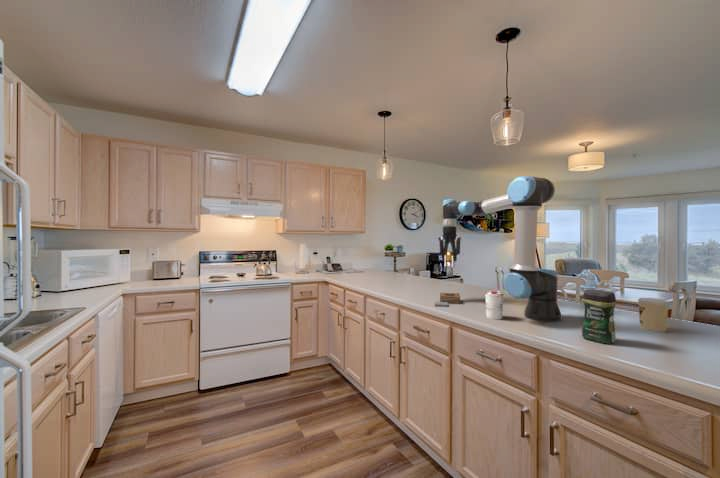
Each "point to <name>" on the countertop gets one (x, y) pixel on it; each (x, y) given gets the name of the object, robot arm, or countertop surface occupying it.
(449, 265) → the gold and silver cylinder
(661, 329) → the coffee cup
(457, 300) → the socket block
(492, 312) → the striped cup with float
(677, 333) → the countertop surface
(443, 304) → the rest mat
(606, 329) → the coffee jar
